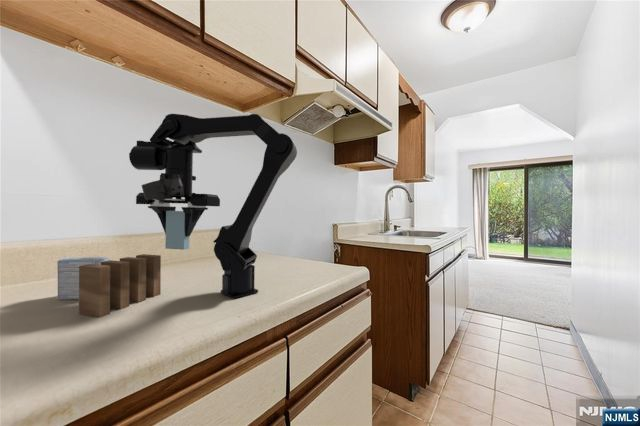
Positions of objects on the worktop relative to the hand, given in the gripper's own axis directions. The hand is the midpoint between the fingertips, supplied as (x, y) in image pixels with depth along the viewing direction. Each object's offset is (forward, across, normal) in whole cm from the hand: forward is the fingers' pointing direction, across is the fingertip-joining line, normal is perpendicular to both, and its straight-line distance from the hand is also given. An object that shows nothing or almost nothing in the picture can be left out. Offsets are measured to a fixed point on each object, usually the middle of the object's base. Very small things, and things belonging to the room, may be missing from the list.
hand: (177, 235), depth 62 cm
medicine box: (+14, -16, -8) cm, 23 cm away
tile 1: (+3, 0, 0) cm, 3 cm away
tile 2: (+13, -4, -4) cm, 15 cm away
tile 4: (+13, -5, -11) cm, 18 cm away
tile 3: (+13, -4, -8) cm, 16 cm away
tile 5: (+13, -5, -15) cm, 21 cm away
